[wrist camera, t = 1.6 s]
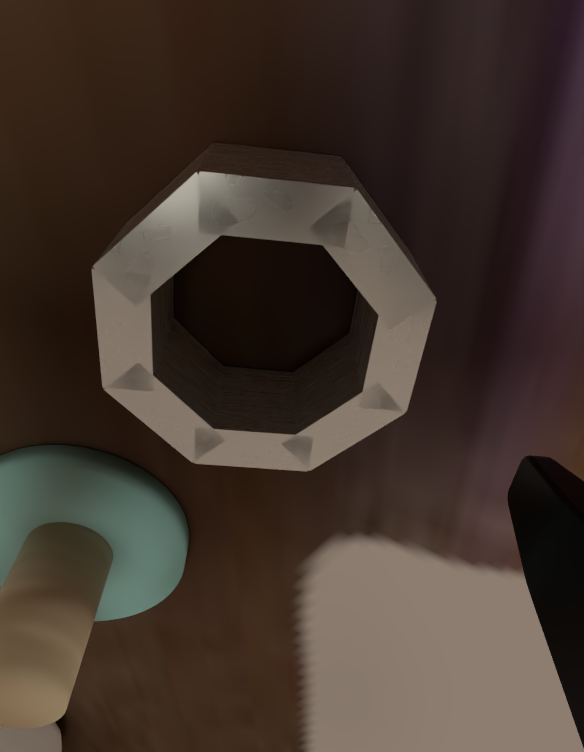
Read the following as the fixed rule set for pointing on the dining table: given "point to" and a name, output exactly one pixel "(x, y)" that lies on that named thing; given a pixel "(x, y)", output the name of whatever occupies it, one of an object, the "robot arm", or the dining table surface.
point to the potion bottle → (31, 739)
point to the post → (74, 565)
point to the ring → (245, 385)
